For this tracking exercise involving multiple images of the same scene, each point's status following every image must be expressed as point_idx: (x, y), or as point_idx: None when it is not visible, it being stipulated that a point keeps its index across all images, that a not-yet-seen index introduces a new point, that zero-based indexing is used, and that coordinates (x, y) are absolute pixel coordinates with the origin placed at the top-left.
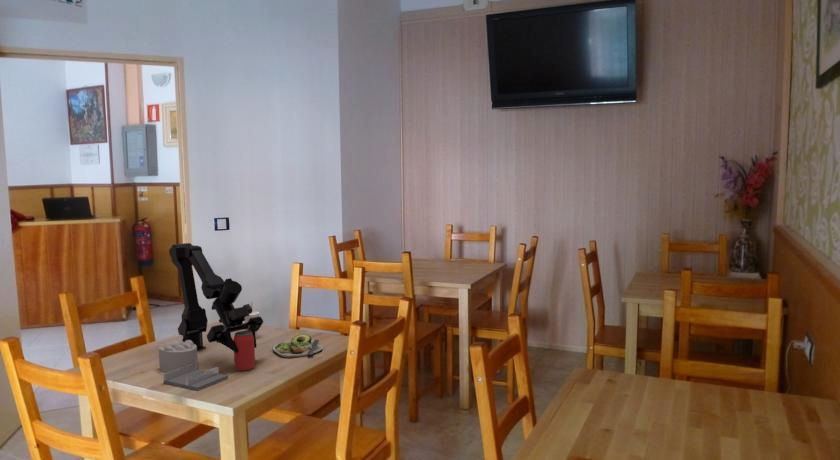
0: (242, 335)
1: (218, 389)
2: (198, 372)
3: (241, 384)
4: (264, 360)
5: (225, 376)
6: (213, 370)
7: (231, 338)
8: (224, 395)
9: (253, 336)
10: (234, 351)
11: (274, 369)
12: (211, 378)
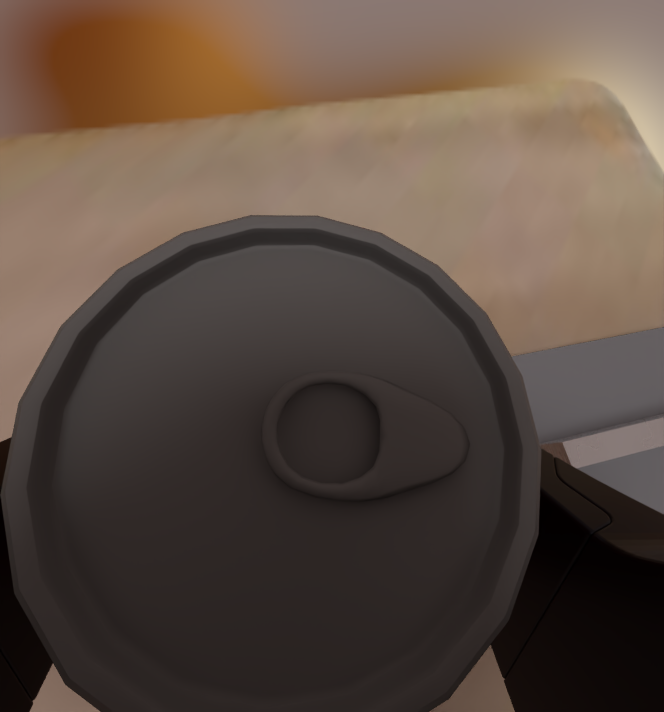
0: (431, 266)
1: (589, 261)
2: None
3: (471, 228)
4: None
5: (514, 356)
6: (599, 431)
7: (579, 504)
8: (591, 181)
9: None
10: None
11: None
12: (599, 392)
